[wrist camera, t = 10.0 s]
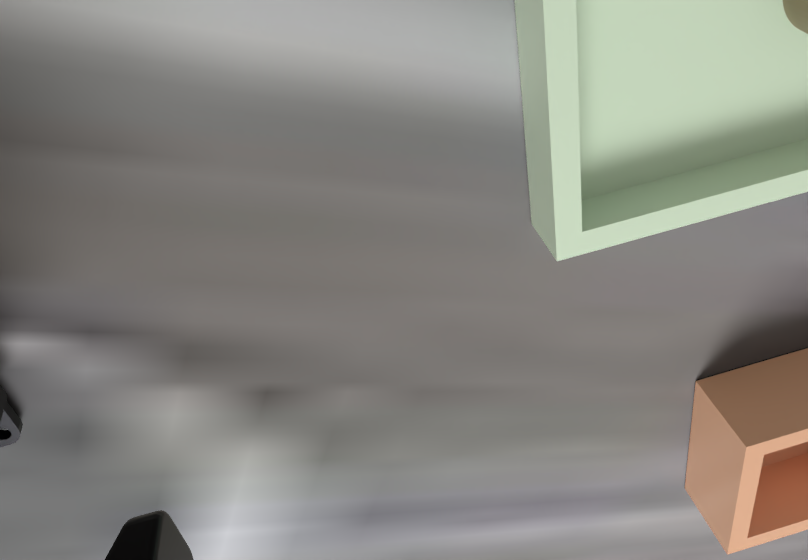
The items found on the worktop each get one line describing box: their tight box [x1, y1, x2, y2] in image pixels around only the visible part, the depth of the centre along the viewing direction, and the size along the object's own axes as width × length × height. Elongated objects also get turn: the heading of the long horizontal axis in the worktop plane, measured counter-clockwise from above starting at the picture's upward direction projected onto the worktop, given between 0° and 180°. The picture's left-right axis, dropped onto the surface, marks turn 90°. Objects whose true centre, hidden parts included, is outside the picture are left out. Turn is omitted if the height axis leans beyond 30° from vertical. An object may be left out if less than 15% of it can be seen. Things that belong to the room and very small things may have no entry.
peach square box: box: [685, 348, 808, 555], centre depth 31 cm, size 7×7×4 cm
